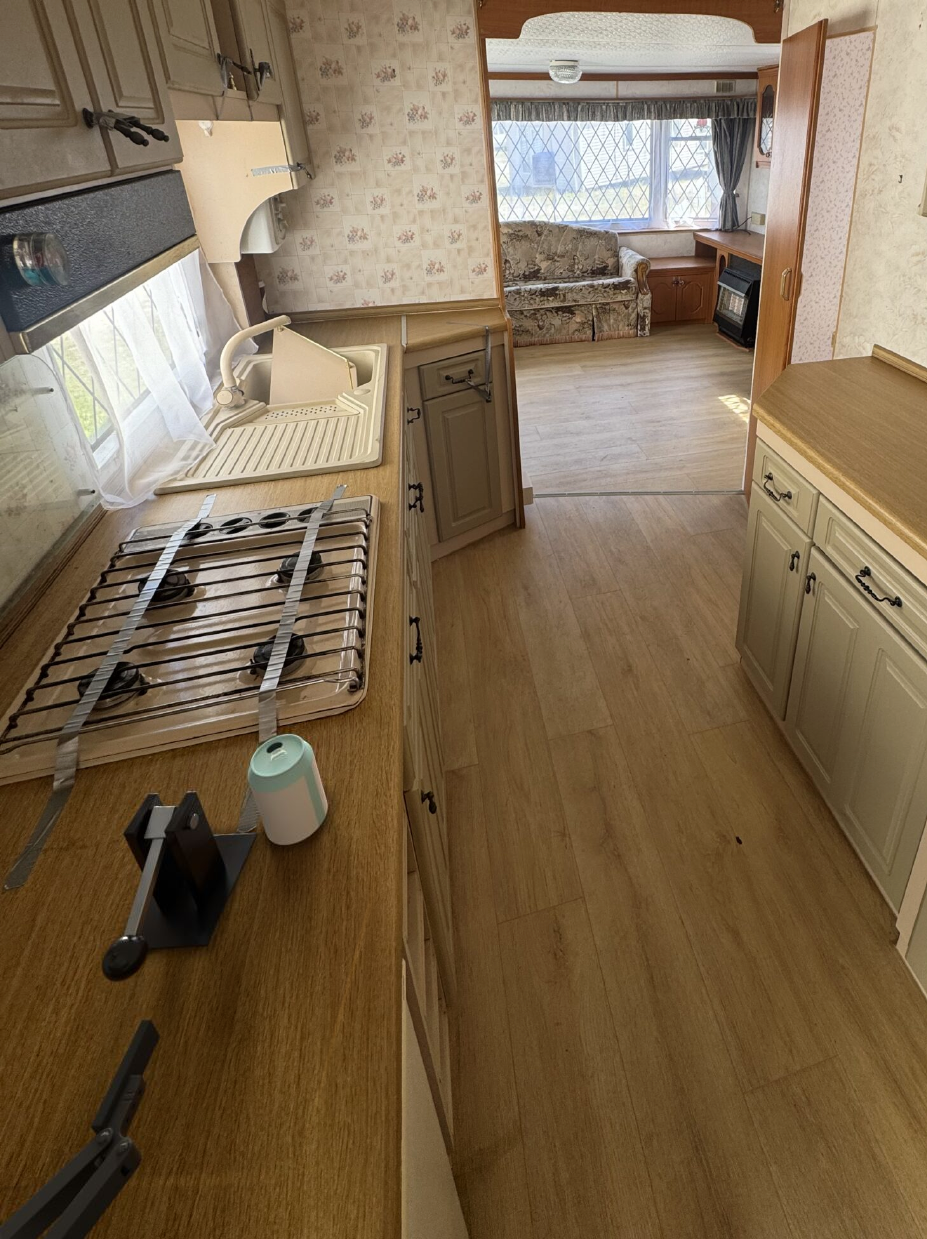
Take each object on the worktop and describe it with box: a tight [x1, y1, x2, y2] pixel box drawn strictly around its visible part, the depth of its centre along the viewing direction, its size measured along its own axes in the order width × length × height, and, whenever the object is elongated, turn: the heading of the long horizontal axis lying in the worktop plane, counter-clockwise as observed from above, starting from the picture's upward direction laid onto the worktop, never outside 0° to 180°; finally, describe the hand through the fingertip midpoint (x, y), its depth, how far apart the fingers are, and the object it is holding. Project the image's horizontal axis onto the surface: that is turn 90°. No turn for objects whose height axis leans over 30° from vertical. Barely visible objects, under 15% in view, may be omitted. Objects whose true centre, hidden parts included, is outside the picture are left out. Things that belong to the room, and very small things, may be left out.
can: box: [247, 733, 329, 846], centre depth 79 cm, size 7×7×12 cm
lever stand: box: [122, 791, 259, 950], centre depth 71 cm, size 12×9×14 cm
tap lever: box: [101, 805, 178, 983], centre depth 66 cm, size 14×4×4 cm
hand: (69, 1032), depth 56 cm, fingers open, 13 cm apart
